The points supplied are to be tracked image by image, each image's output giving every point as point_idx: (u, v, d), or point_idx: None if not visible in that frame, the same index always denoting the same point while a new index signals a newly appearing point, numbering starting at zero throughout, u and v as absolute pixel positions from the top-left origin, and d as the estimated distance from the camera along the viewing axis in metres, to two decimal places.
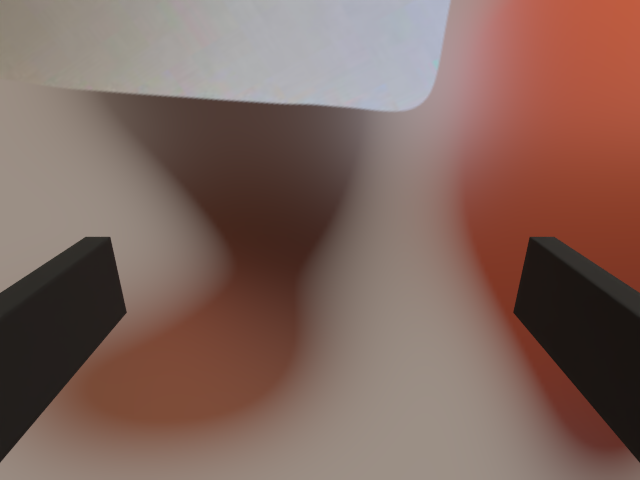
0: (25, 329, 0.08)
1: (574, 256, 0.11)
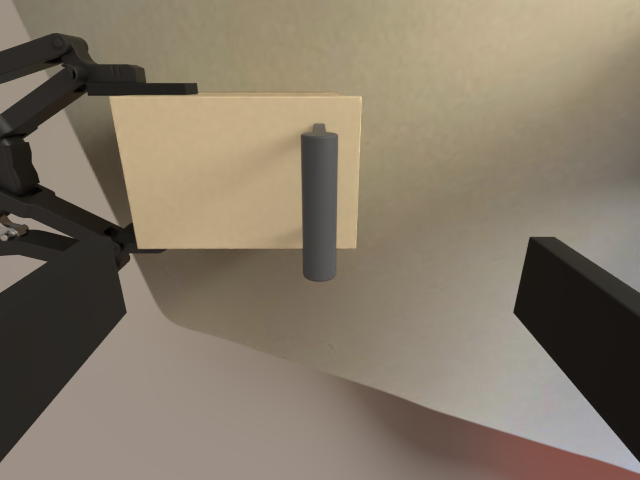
0: (25, 329, 0.08)
1: (574, 256, 0.11)
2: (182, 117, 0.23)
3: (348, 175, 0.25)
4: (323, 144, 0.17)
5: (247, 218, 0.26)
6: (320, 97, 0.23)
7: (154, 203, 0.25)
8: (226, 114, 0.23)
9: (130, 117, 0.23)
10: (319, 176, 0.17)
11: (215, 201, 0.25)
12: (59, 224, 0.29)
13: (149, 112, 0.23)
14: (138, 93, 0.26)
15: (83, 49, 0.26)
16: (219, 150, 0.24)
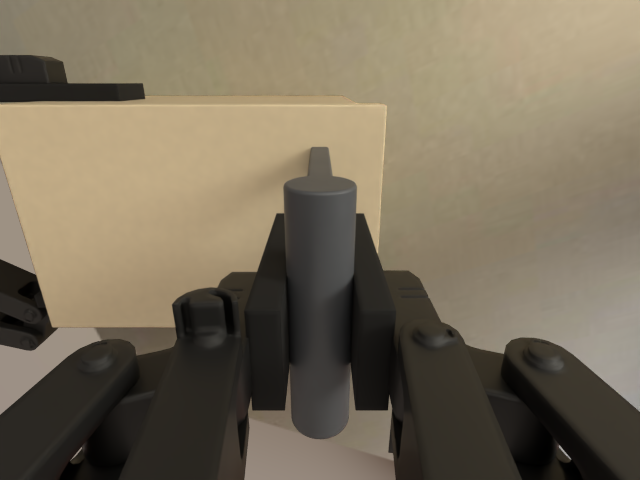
0: None
1: (360, 226, 0.13)
2: (103, 137, 0.15)
3: None
4: (328, 208, 0.08)
5: (212, 285, 0.17)
6: (321, 106, 0.15)
7: (70, 264, 0.17)
8: (173, 132, 0.15)
9: (21, 137, 0.15)
10: (320, 267, 0.09)
11: (162, 261, 0.17)
12: None
13: (51, 129, 0.15)
14: (48, 98, 0.17)
15: None
16: (164, 187, 0.16)
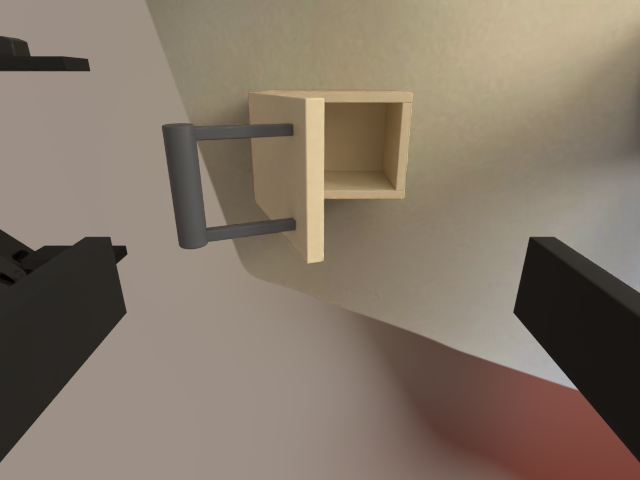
0: (25, 329, 0.08)
1: (574, 256, 0.11)
2: (259, 109, 0.31)
3: (302, 182, 0.23)
4: (163, 132, 0.21)
5: (275, 200, 0.30)
6: (291, 97, 0.23)
7: (256, 171, 0.35)
8: (268, 109, 0.28)
9: (251, 107, 0.33)
10: None
11: (267, 179, 0.31)
12: None
13: (254, 104, 0.32)
14: (14, 67, 0.24)
15: None
16: (267, 138, 0.30)
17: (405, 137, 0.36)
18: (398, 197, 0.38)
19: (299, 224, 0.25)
